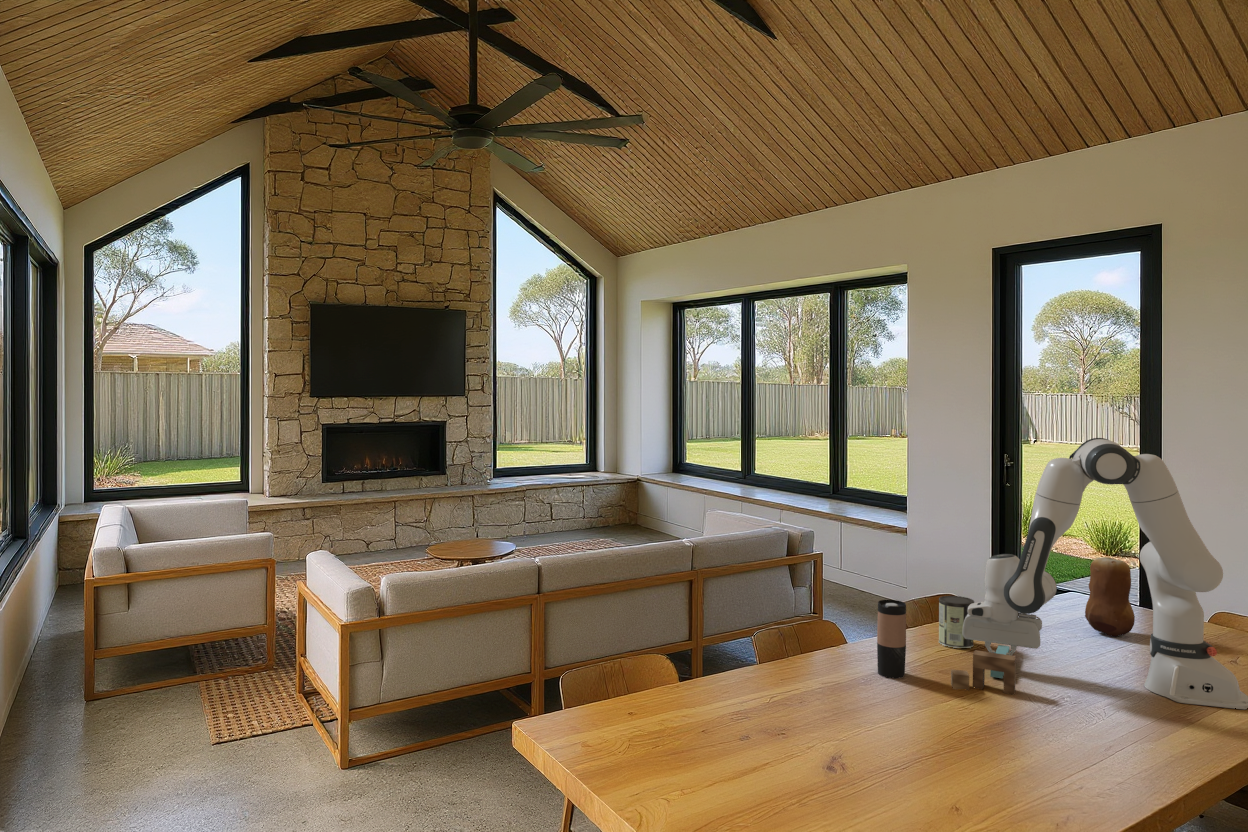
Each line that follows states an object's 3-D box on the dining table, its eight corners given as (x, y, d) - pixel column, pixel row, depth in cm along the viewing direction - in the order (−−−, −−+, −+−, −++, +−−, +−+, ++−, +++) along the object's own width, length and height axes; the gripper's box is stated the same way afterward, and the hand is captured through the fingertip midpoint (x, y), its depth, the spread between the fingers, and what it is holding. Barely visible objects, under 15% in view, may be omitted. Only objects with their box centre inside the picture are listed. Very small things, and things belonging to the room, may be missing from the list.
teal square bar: (1009, 656, 240) (1009, 646, 240) (1002, 678, 221) (1002, 667, 221) (998, 654, 241) (998, 644, 241) (990, 676, 222) (990, 665, 222)
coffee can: (965, 639, 258) (966, 595, 257) (979, 649, 247) (980, 603, 247) (933, 639, 258) (933, 595, 257) (945, 649, 248) (946, 603, 247)
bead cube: (966, 685, 217) (967, 670, 217) (969, 690, 213) (969, 675, 213) (950, 684, 218) (951, 669, 218) (953, 689, 214) (953, 674, 214)
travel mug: (901, 669, 229) (902, 599, 228) (908, 679, 221) (909, 607, 221) (874, 668, 230) (875, 599, 229) (880, 678, 222) (880, 606, 221)
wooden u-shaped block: (1015, 689, 214) (1015, 656, 213) (1014, 694, 210) (1014, 660, 210) (974, 683, 219) (974, 650, 218) (972, 687, 215) (973, 654, 215)
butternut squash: (1134, 632, 265) (1135, 557, 264) (1134, 643, 254) (1135, 564, 253) (1085, 626, 273) (1086, 552, 272) (1083, 636, 261) (1085, 559, 260)
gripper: (1042, 612, 228) (1041, 661, 229) (964, 603, 238) (964, 649, 239) (1041, 618, 223) (1040, 668, 223) (961, 608, 233) (961, 655, 233)
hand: (1000, 658), depth 231 cm, fingers closed on teal square bar, 3 cm apart
